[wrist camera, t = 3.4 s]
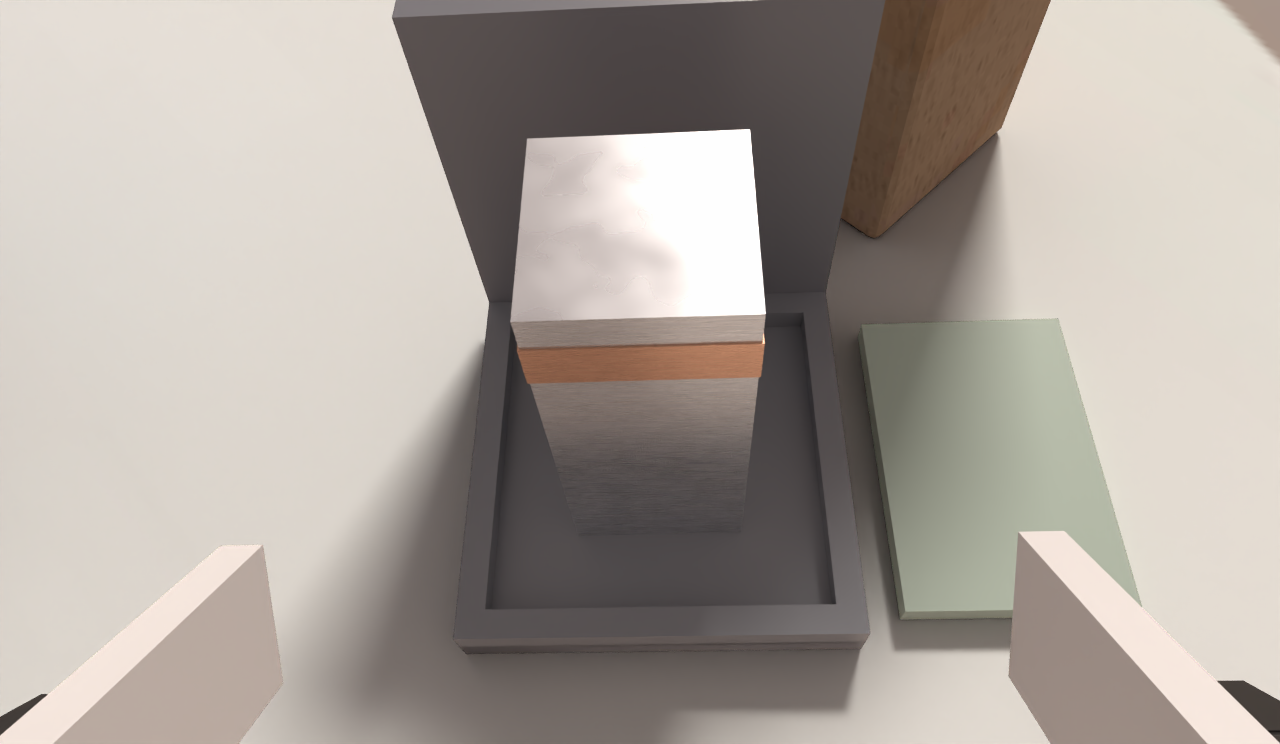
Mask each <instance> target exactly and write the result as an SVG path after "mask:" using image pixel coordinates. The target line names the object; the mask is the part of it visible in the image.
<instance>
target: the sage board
mask: <svg viewBox="0 0 1280 744" xmlns="http://www.w3.org/2000/svg"><path fill="white" fill-rule="evenodd" d="M858 342H859V348H860V355H861V362H862V368H863V375H864V382H865V388H866V395H867V402H868V409H869V415H870V422H871V429H872V435H873V442H874V449H875V456H876V462H877V469H878V476H879V482H880V489H881V496H882V503H883V509H884V516H885V523H886V529H887V536H888V543H889V549H890V556H891V563H892V570H893V576H894V583H895V590H896V596H897V603H898V610H899V617H900V620H911V619H981V618H1012V617H1013V602H1014V587H1015V572H1016V557H1017V543H1018V532H1031V531H1065V532H1066V533H1067V534H1068V535H1069V536H1070V537H1071V538H1072V539H1073V540H1074V541H1075V542H1076V543H1077V544H1078V545H1079V546H1080V547H1081V548H1082V549H1083V550H1084V551H1085V552H1086V553H1087V554H1088V555H1089V556H1090V557H1091V558H1092V559H1093V560H1094V561H1095V562H1096V563H1097V564H1098V565H1099V566H1100V567H1101V568H1102V569H1103V570H1104V571H1106V572H1107V573H1108V574H1109V575H1110V576H1111V577H1112V578H1113V579H1114V580H1115V581H1116V582H1117V583H1118V584H1119V585H1120V586H1121V587H1122V588H1123V589H1124V590H1125V591H1126V592H1127V593H1128V594H1129V595H1130V596H1131V597H1132V598H1133V599H1134V600H1135V601H1136V602H1137V603H1138V604H1139V605H1140V606H1141V607H1142V605H1141V601H1140V598H1139V594H1138V591H1137V588H1136V584H1135V581H1134V577H1133V574H1132V570H1131V567H1130V564H1129V560H1128V557H1127V553H1126V550H1125V546H1124V543H1123V539H1122V536H1121V533H1120V529H1119V526H1118V522H1117V519H1116V515H1115V512H1114V509H1113V505H1112V502H1111V498H1110V495H1109V491H1108V488H1107V484H1106V481H1105V478H1104V474H1103V471H1102V467H1101V464H1100V460H1099V457H1098V454H1097V450H1096V447H1095V443H1094V440H1093V436H1092V433H1091V429H1090V426H1089V423H1088V419H1087V416H1086V412H1085V409H1084V405H1083V402H1082V399H1081V395H1080V392H1079V388H1078V385H1077V381H1076V378H1075V375H1074V371H1073V368H1072V364H1071V361H1070V357H1069V354H1068V350H1067V347H1066V344H1065V340H1064V337H1063V333H1062V330H1061V326H1060V323H1059V320H1058V318H1057V319H1023V320H990V321H956V322H923V323H890V324H862V325H861V328H860V332H859V335H858Z"/></svg>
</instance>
